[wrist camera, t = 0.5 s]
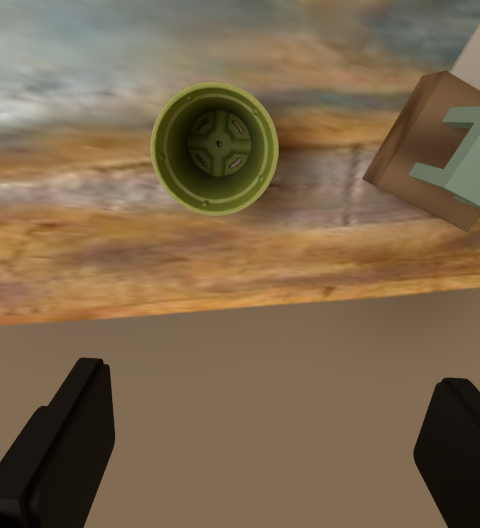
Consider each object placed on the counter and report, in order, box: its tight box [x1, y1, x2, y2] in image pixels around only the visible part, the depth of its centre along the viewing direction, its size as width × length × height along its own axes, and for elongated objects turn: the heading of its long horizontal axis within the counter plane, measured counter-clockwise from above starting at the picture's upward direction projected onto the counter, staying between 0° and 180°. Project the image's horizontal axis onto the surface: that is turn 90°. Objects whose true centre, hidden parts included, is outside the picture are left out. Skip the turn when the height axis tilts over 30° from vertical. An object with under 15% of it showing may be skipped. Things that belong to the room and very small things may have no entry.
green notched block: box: [409, 106, 480, 210], centre depth 28 cm, size 6×6×6 cm
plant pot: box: [151, 82, 279, 216], centre depth 31 cm, size 9×9×9 cm
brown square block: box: [362, 71, 480, 232], centre depth 33 cm, size 10×10×4 cm
